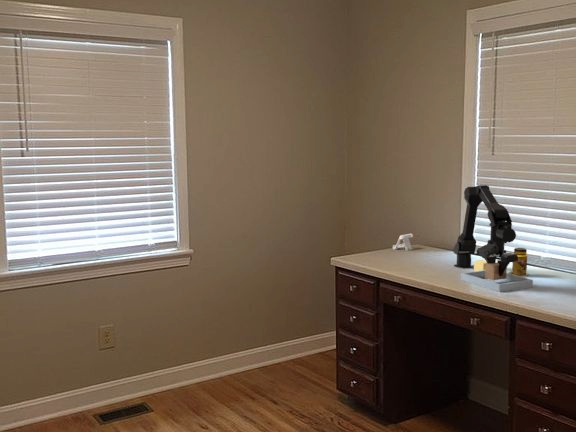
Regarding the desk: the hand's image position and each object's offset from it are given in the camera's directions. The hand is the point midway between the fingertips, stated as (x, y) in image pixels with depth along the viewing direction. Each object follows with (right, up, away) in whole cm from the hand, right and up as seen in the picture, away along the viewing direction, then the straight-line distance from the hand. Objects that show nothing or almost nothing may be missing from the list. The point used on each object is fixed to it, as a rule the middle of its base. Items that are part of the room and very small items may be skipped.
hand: (496, 274), depth 276 cm
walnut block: (0, -2, 0) cm, 2 cm away
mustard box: (+1, -1, +22) cm, 22 cm away
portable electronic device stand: (-25, +6, +78) cm, 82 cm away
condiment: (+15, -2, +16) cm, 22 cm away
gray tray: (0, -4, 0) cm, 4 cm away
